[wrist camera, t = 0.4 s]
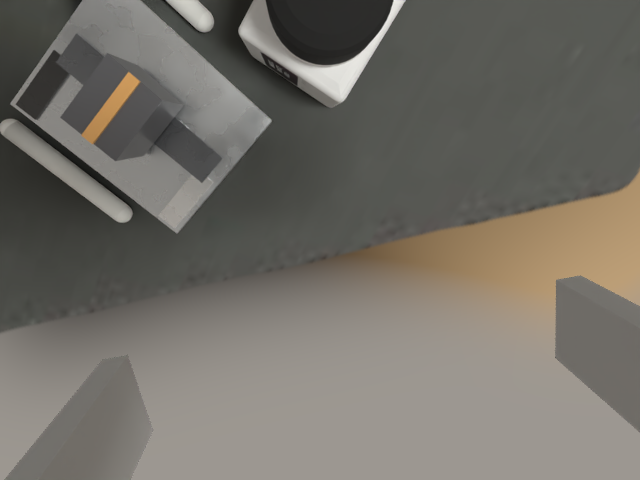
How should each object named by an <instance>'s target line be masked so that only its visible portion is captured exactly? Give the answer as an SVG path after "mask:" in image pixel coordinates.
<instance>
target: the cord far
mask: <svg viewBox="0 0 640 480" xmlns="http://www.w3.org/2000/svg"><path fill="white" fill-rule="evenodd" d="M0 132H1V134H2V135H3V136H4V137H5V138H7V139H8V140H9V141H11V142H12V143H13V144H15V145H16V146H17V147H19V148H20V149H21V150H23V151H24V152H25V153H27V154H28V155H29V156H31V157H32V158H33V159H35V160H36V161H37V162H39V163H40V164H41V165H43V166H44V167H45V168H47V169H48V170H49V171H51V172H52V173H53V174H55V175H56V176H57V177H58V178H60V179H61V180H62V181H64V182H65V183H66V184H68V185H69V186H70V187H72V188H73V189H74V190H76V191H77V192H78V193H80V194H81V195H82V196H84V197H85V198H86V199H88V200H89V201H90V202H92V203H93V204H94V205H96V206H97V207H98V208H100V209H101V210H102V211H104V212H105V213H106V214H108V215H109V216H110V217H111V218H113V219H114V220H116V221H117V222H121V223H124V222H127V221H129V220H130V219H131V217H132V215H133V212H132V209H131V208H130V206H128V205H127V204H126V203H125V202H123V201H122V200H121V199H119V198H118V197H117V196H115V195H114V194H113V193H112V192H110V191H109V190H108V189H106V188H105V187H104V186H102V185H101V184H100V183H99V182H97V181H96V180H95V179H93V178H92V177H91V176H90V175H88V174H87V173H86V172H84V171H83V170H82V169H80V168H79V167H78V166H77V165H75V164H74V163H73V162H71V161H70V160H69V159H67V158H66V157H65V156H64V155H62V154H61V153H60V152H58V151H57V150H56V149H54V148H53V147H52V146H51V145H49V144H48V143H47V142H45V141H44V140H43V139H42V138H40V137H39V136H38V135H36V134H35V133H34V132H32V131H31V130H30V129H29V128H27V127H26V126H25V125H23V124H22V123H21V122H19V121H18V120H15V119H6V120H4V121H2V122H1V124H0Z"/></svg>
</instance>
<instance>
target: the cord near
mask: <svg viewBox="0 0 640 480" xmlns="http://www.w3.org/2000/svg"><path fill="white" fill-rule="evenodd" d="M166 1H167V2H168V3H169V4H170V5H171V6H172V7H173V8H174V9H175V10H176V11H177V12H178V13H180V14H181V15H182V16H183V17H184V18H185V19H186V20H187V21H188V22H189V23H190V24H191V25H192V26H194V27H195V28H196V29H197V30H198V31H200V32H208V31H210V30H211V29H212V28H213V25H214V18H213V16H212V14H211V13H210V12H209V11H208V10H207V9H206V8H205V7H204V6H203V5H202V4H201V3H200V2H199V1H198V0H166Z"/></svg>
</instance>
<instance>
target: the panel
mask: <svg viewBox="0 0 640 480" xmlns="http://www.w3.org/2000/svg"><path fill="white" fill-rule="evenodd" d="M107 53H109V54H111V55H114V56H116V57H119V58H121V59H124V60H126V61H129V62H131V63H134V64H136V65H139V66H140V67H141V68H142V69H143V70H144V71H145V72H147V73H148V74H149V75H150V76H151V77H152V78H154V79H155V80H156V81H157V82H158V83H159V84H160V85H162V86H163V87H164V88H165V89H166V90H167V91H168V92H170V93H171V94H172V95H173V96H174V97H175V98H177V99H178V100H179V101H180V102H181V103H182V104H183V105H184V106H183V107H182V108H181V109H180V111H179V112H178V113H177V114H176V116H175V117H174V118H173V120H172V121H171V122H170V123H169V125H168V126H167V127H166V128H165V130H164V131H163V132H162V134H161V135H160V136H159V137H158V139H157V140H156V141H155V142H154V144H153V145H152V146H151V147H150V149H149V150H148V151H147V153H146V154H145V155H144V156H142V157H136V158H131V159H125V160H120V161H114V160H113V159H112V158H110V157H109V156H108V155H107V154H105V153H104V152H103V151H102V150H100V149H99V148H98V147H97V146H95V145H94V144H91V143H90V142H89V141H87V140H86V139H85V138H84V137H82V136H81V134H80V133H79V132H78V131H76V130H75V129H74V128H73V127H71V126H70V125H69V124H68V123H66V122H65V121H64V120H63V119H61V118H60V117H61V116H62V114H63V113H64V111H65V110H66V109H67V107H68V106H69V105H70V103H71V102H72V100H73V99H74V98H75V96H76V95H77V94H78V92H79V91H80V90H81V88H82V87H83V85H84V84H85V83H86V81H87V80H88V79H89V77H90V76H91V74H92V73H93V72H94V70H95V69H96V68H97V66H98V65H99V64H100V62H101V61H102V59H103V58H104V57H105V55H106V54H107ZM10 104H11V105H12V106H13V107H15V108H16V109H17V110H19V111H20V112H21V113H22V114H24V115H25V116H26V117H28V118H29V119H30V120H31V121H33V122H34V123H35V124H37V125H38V126H39V127H40V128H42V129H43V130H44V131H46V132H47V133H48V134H49V135H51V136H52V137H53V138H55V139H56V140H57V141H58V142H60V143H61V144H62V145H64V146H65V147H66V148H67V149H69V150H70V151H71V152H73V153H74V154H75V155H76V156H78V157H79V158H80V159H82V160H83V161H84V162H85V163H87V164H88V165H89V166H91V167H92V168H93V169H94V170H96V171H97V172H98V173H100V174H101V175H102V176H103V177H105V178H106V179H107V180H109V181H110V182H111V183H112V184H114V185H115V186H116V187H118V188H119V189H120V190H121V191H123V192H124V193H125V194H127V195H128V196H129V197H131V198H132V199H133V200H134V201H136V202H137V203H138V204H140V205H141V206H142V207H143V208H145V209H146V210H147V211H149V212H150V213H151V214H152V215H154V216H155V217H156V218H158V219H159V220H160V221H161V222H163V223H164V224H165V225H167V226H168V227H169V228H170V229H172V230H173V231H174V232H176V233H178V232H179V231H180V230H182V229H183V228H184V227H185V225H186V224H187V223H188V222H189V221H190V219H191V218H192V217H193V216H194V215H195V214H196V212H197V211H198V210H199V209H200V208H201V206H202V205H203V204H204V203H205V202H206V200H207V199H208V198H209V197H210V196H211V195H212V193H213V192H214V191H215V190H216V189H217V187H218V186H219V185H220V184H221V183H222V181H223V180H224V179H225V178H226V177H227V176H228V174H229V173H230V172H231V171H232V170H233V168H234V167H235V166H236V165H237V164H238V162H239V161H240V160H241V159H242V158H243V157H244V155H245V154H246V153H247V152H248V151H249V149H250V148H251V147H252V146H253V145H254V143H255V142H256V141H257V140H258V139H259V138H260V136H261V135H262V134H263V133H264V132H265V130H266V129H267V128H268V127H269V126H270V124H271V123H272V122H273V120H272V119H271V118H269V117H268V116H267V115H266V114H265V113H264V112H263V111H262V110H261V109H260V108H258V107H257V106H256V105H255V104H254V103H253V102H252V101H251V100H250V99H249V98H248V97H246V96H245V95H244V94H243V93H242V92H241V91H240V90H239V89H238V88H237V87H236V86H234V85H233V84H232V83H231V82H230V81H229V80H228V79H227V78H226V77H225V76H223V75H222V74H221V73H220V72H219V71H218V70H217V69H216V68H215V67H214V66H213V65H211V64H210V63H209V62H208V61H207V60H206V59H205V58H204V57H203V56H202V55H201V54H199V53H198V52H197V51H196V50H195V49H194V48H193V47H192V46H191V45H190V44H188V43H187V42H186V41H185V40H184V39H183V38H182V37H181V36H180V35H179V34H178V33H176V32H175V31H174V30H173V29H172V28H171V27H170V26H169V25H168V24H167V23H165V22H164V21H163V20H162V19H161V18H160V17H159V16H158V15H157V14H156V13H155V12H153V11H152V10H151V9H150V8H149V7H148V6H147V5H146V4H145V3H144V2H143V1H141V0H82V2H81V3H80V5H79V6H78V8H77V9H76V10H75V12H74V13H73V15H72V16H71V18H70V19H69V20H68V22H67V23H66V25H65V26H64V28H63V29H62V30H61V32H60V33H59V35H58V36H57V38H56V39H55V40H54V42H53V43H52V45H51V46H50V48H49V49H48V50H47V52H46V53H45V55H44V56H43V58H42V59H41V60H40V62H39V63H38V65H37V66H36V68H35V69H34V70H33V72H32V73H31V75H30V76H29V78H28V79H27V80H26V82H25V83H24V85H23V86H22V88H21V89H20V90H19V92H18V93H17V95H16V96H15V98H14V99H13V100H12V102H11V103H10Z"/></svg>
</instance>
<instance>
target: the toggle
mask: <svg viewBox="0 0 640 480" xmlns="http://www.w3.org/2000/svg"><path fill="white" fill-rule="evenodd" d="M183 106H184V105H183V104H182V103H181V102H180V101H179V100H178V99H177V98H175V97H174V96H173V95H172V94H171V93H170V92H168V91H167V90H166V89H165V88H164V87H163V86H162V85H160V84H159V83H158V82H157V81H156V80H155V79H154V78H152V77H151V76H150V75H149V74H148V73H147V72H145V71H144V70H143V69H142V68H141V67H140V66H139V65H136V64H134V63H131V62H129V61H126V60H124V59H121V58H119V57H116V56H114V55H111V54H109V53H107V54H106V55H105V57H104V58H103V59H102V61H101V62H100V64H99V65H98V66H97V68H96V69H95V70H94V72H93V73H92V74H91V76H90V77H89V79H88V80H87V81H86V83H85V84H84V85H83V87H82V88H81V90H80V91H79V92H78V94H77V95H76V96H75V98H74V99H73V100H72V102H71V103H70V105H69V106H68V107H67V109H66V110H65V111H64V113H63V114H62V116H61V117H60V118H61V119H63V120H64V121H65V122H66V123H68V124H69V125H70V126H71V127H73V128H74V129H75V130H76V131H78V132H79V133H80V134H81V136H82V137H84V138H85V139H86V140H87V141H89V142H90V143H91V144H94V145H95V146H97V147H98V148H99V149H100V150H102V151H103V152H104V153H105V154H107V155H108V156H109V157H110V158H112V159H113V160H114V161H120V160H125V159H131V158H136V157H142V156H144V155H145V154H146V153H147V151H148V150H149V149H150V147H151V146H152V145H153V144H154V142H155V141H156V140H157V139H158V137H159V136H160V135H161V134H162V132H163V131H164V130H165V128H166V127H167V126H168V125H169V123H170V122H171V121H172V120H173V118H174V117H175V116H176V114H177V113H178V112H179V111H180V109H181V108H182V107H183Z"/></svg>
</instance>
